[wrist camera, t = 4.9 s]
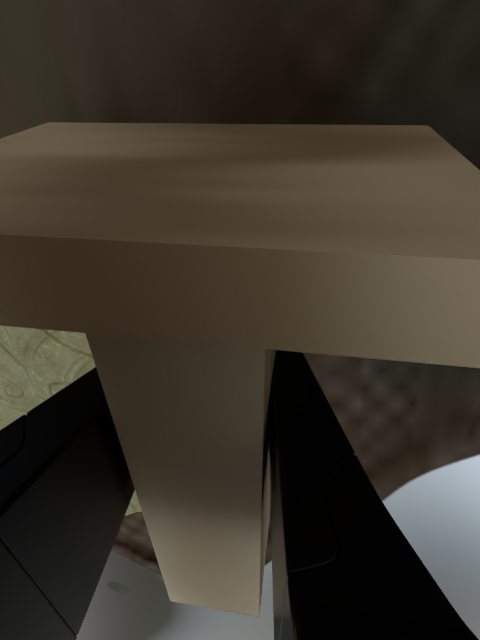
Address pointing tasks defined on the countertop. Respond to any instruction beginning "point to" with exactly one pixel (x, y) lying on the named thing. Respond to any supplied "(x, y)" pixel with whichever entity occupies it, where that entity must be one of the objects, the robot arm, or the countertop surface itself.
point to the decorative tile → (41, 371)
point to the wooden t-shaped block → (232, 295)
